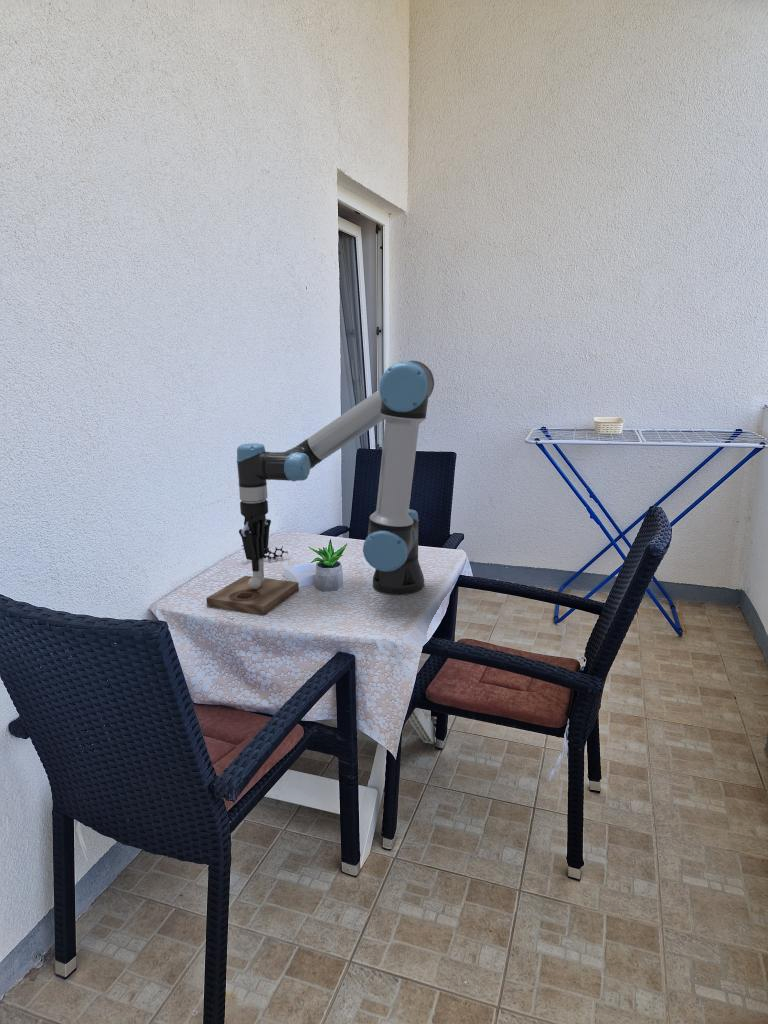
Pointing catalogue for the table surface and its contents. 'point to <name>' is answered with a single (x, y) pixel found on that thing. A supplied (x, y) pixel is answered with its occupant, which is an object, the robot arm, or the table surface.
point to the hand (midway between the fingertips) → (258, 580)
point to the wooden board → (253, 595)
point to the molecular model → (274, 553)
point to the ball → (254, 583)
